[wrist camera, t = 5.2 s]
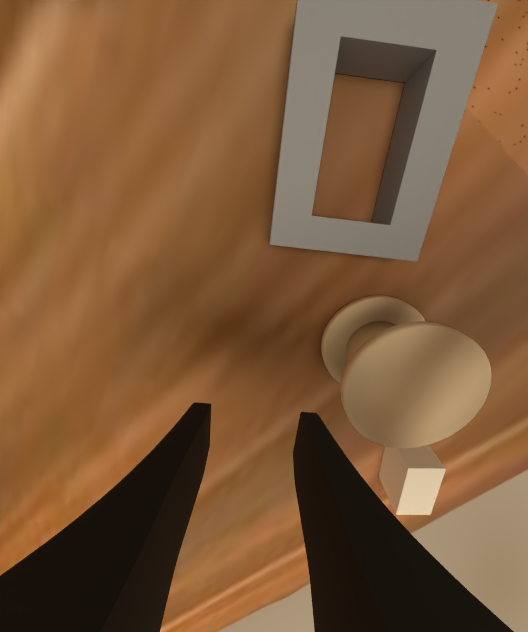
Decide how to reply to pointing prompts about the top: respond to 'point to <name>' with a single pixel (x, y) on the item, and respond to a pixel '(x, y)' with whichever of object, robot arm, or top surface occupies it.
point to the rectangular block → (411, 479)
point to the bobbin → (403, 372)
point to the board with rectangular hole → (411, 123)
